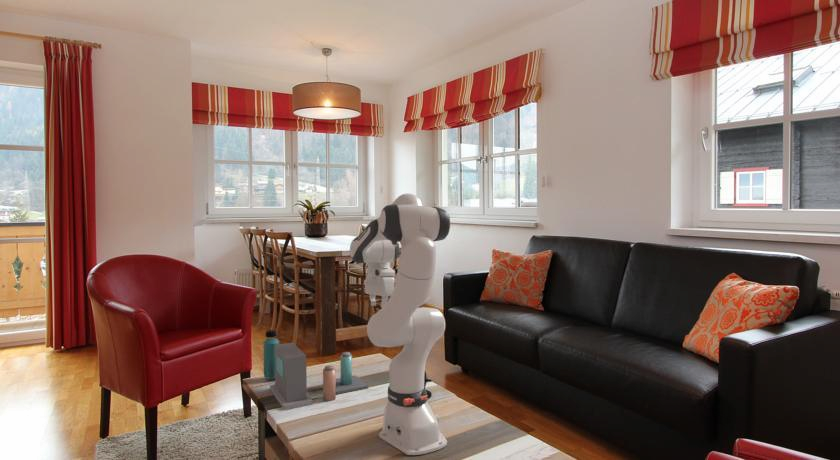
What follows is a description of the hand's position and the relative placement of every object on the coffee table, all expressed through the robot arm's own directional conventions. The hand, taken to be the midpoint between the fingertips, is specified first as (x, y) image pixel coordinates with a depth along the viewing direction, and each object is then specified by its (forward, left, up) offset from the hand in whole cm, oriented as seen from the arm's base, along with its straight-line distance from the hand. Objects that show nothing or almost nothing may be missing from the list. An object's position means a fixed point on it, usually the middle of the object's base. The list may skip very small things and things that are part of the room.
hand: (378, 306), depth 195 cm
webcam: (-18, -9, -31) cm, 38 cm away
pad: (+5, +12, -31) cm, 34 cm away
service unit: (+5, +34, -31) cm, 46 cm away
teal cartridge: (+5, +12, -30) cm, 33 cm away
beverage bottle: (+26, +36, -31) cm, 54 cm away
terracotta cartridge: (-4, +22, -31) cm, 38 cm away
